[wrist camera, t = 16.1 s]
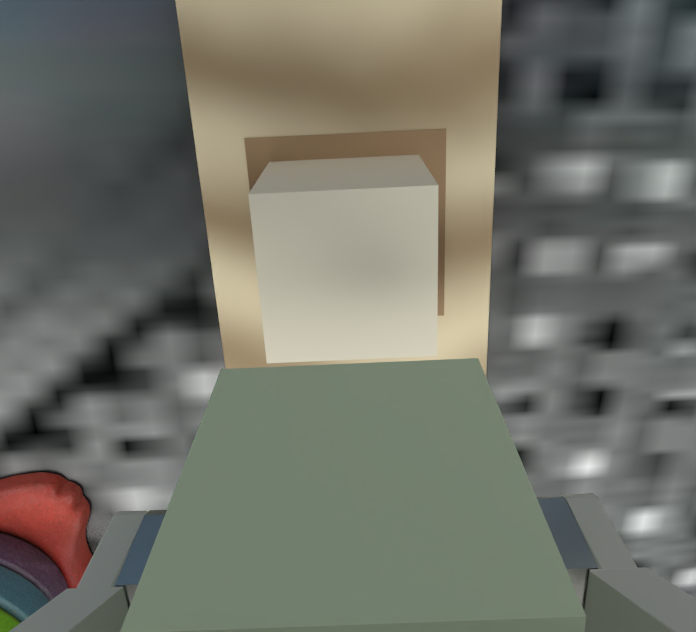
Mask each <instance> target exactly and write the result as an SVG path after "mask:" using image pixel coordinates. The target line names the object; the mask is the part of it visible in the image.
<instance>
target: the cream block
mask: <svg viewBox="0 0 696 632" xmlns="http://www.w3.org/2000/svg"><path fill="white" fill-rule="evenodd" d="M248 196H249V205H250V215H251V224H252V233H253V242H254V251H255V260H256V270H257V279H258V288H259V297H260V306H261V315H262V325H263V334H264V343H265V352H266V361H267V363H288V362H310V361H333V360H356V359H379V358H402V357H425V356H437V318H438V184H437V182H436V181H435V179H434V177H433V176H432V174H431V173H430V171H429V170H428V168H427V167H426V165H425V164H424V162H423V160H422V159H421V157H420V156H419V155H399V156H378V157H358V158H337V159H317V160H296V161H276V162H269V163H268V164H267V166H266V168H265V169H264V171H263V172H262V174H261V175H260V177H259V178H258V180H257V182H256V183H255V185H254V186H253V188H252V189H251V191H250V192H249V194H248Z"/></svg>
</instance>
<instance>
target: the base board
mask: <svg viewBox="0 0 696 632" xmlns="http://www.w3.org/2000/svg"><path fill="white" fill-rule="evenodd" d="M175 2H176V9H177V17H178V24H179V31H180V39H181V46H182V53H183V60H184V68H185V75H186V82H187V90H188V97H189V104H190V112H191V119H192V126H193V134H194V141H195V148H196V156H197V163H198V170H199V178H200V185H201V192H202V200H203V207H204V214H205V222H206V229H207V236H208V243H209V251H210V258H211V265H212V273H213V280H214V287H215V295H216V302H217V309H218V317H219V324H220V331H221V339H222V346H223V353H224V361H225V368H226V369H235V368H258V367H282V366H305V365H328V364H351V363H375V362H398V361H421V360H444V359H467V358H478V359H479V361H480V364H481V366H482V369H483V371H484V373H485V376H486V367H487V344H488V320H489V296H490V273H491V249H492V226H493V202H494V178H495V155H496V131H497V107H498V84H499V60H500V36H501V13H502V0H175ZM399 155H419V156H420V157H421V159H422V160H423V162H424V164H425V165H426V167H427V168H428V170H429V171H430V173H431V174H432V176H433V177H434V179H435V181H436V182H437V184H438V318H437V356H425V357H402V358H379V359H356V360H333V361H310V362H288V363H267V361H266V352H265V343H264V334H263V325H262V315H261V306H260V297H259V288H258V279H257V270H256V260H255V251H254V242H253V233H252V224H251V215H250V205H249V196H248V194H249V192H250V191H251V189H252V188H253V186H254V185H255V183H256V182H257V180H258V178H259V177H260V175H261V174H262V172H263V171H264V169H265V168H266V166H267V164H268V163H269V162H276V161H296V160H317V159H337V158H358V157H378V156H399Z"/></svg>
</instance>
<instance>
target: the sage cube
mask: <svg viewBox="0 0 696 632" xmlns="http://www.w3.org/2000/svg"><path fill="white" fill-rule="evenodd" d="M585 623H586V614H585V612H584V610H583V607H582V605H581V602H580V600H579V598H578V595H577V593H576V591H575V588H574V586H573V583H572V581H571V579H570V576H569V574H568V571H567V569H566V567H565V564H564V562H563V560H562V557H561V555H560V552H559V550H558V548H557V545H556V543H555V540H554V538H553V536H552V533H551V531H550V529H549V526H548V524H547V521H546V519H545V517H544V514H543V512H542V509H541V507H540V505H539V502H538V500H537V497H536V495H535V493H534V490H533V488H532V486H531V483H530V481H529V478H528V476H527V474H526V471H525V469H524V466H523V464H522V462H521V459H520V457H519V455H518V452H517V450H516V447H515V445H514V443H513V440H512V438H511V435H510V433H509V431H508V428H507V426H506V424H505V421H504V419H503V416H502V414H501V412H500V409H499V407H498V404H497V402H496V400H495V397H494V395H493V392H492V390H491V388H490V385H489V383H488V381H487V378H486V376H485V373H484V371H483V369H482V366H481V364H480V361H479V359H478V358H467V359H444V360H421V361H398V362H375V363H351V364H328V365H305V366H282V367H258V368H235V369H221V371H220V374H219V376H218V379H217V381H216V384H215V387H214V389H213V392H212V394H211V397H210V400H209V402H208V405H207V407H206V410H205V413H204V415H203V418H202V420H201V423H200V426H199V428H198V431H197V433H196V436H195V439H194V441H193V444H192V446H191V449H190V451H189V454H188V457H187V459H186V462H185V464H184V467H183V470H182V472H181V475H180V477H179V480H178V483H177V485H176V488H175V490H174V493H173V496H172V498H171V501H170V503H169V506H168V508H167V511H166V514H165V516H164V519H163V521H162V524H161V527H160V529H159V532H158V534H157V537H156V540H155V542H154V545H153V547H152V550H151V553H150V555H149V558H148V560H147V563H146V566H145V568H144V571H143V573H142V576H141V578H140V581H139V584H138V586H137V589H136V591H135V594H134V597H133V599H132V602H131V604H130V607H129V610H128V612H127V615H126V617H125V620H124V623H123V625H122V628H121V630H120V632H584V630H585Z"/></svg>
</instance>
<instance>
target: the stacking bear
mask: <svg viewBox="0 0 696 632" xmlns="http://www.w3.org/2000/svg"><path fill="white" fill-rule="evenodd" d="M89 516H90V505H89V503H88V501H87V500H86V499H85V497H84V496H83V493H82V489H81V487H80V486H78V485H76V484H75V483H73V482H70V481H68V480H66V479H65V478H64V477H62V476H60V475H57V474H52V473H46V472H37V473H29V474H22V475H16V476H11V477H7V478H4V479H0V632H9V631H10V630H12V629H13V628H14V627H16V626H17V625H18V624H20V623H21V622H22V621H24V620H25V619H27V618H28V617H29V616H31V615H32V614H33V613H35V612H36V611H37V610H39V609H40V608H41V607H43V606H44V605H46V604H47V603H48V602H50V601H51V600H52V599H54V598H55V597H56V596H58V595H59V594H60V593H62V592H63V591H64V590H66V589H70V588H77V586H78V584H79V582H80V580H81V578H82V576H83V574H84V572H85V570H86V568H87V566H88V564H89V562H90V560H91V558H92V554H91V552H90V550H89V547H88V544H87V541H86V534H85V533H86V526H87V522H88V520H89Z"/></svg>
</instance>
